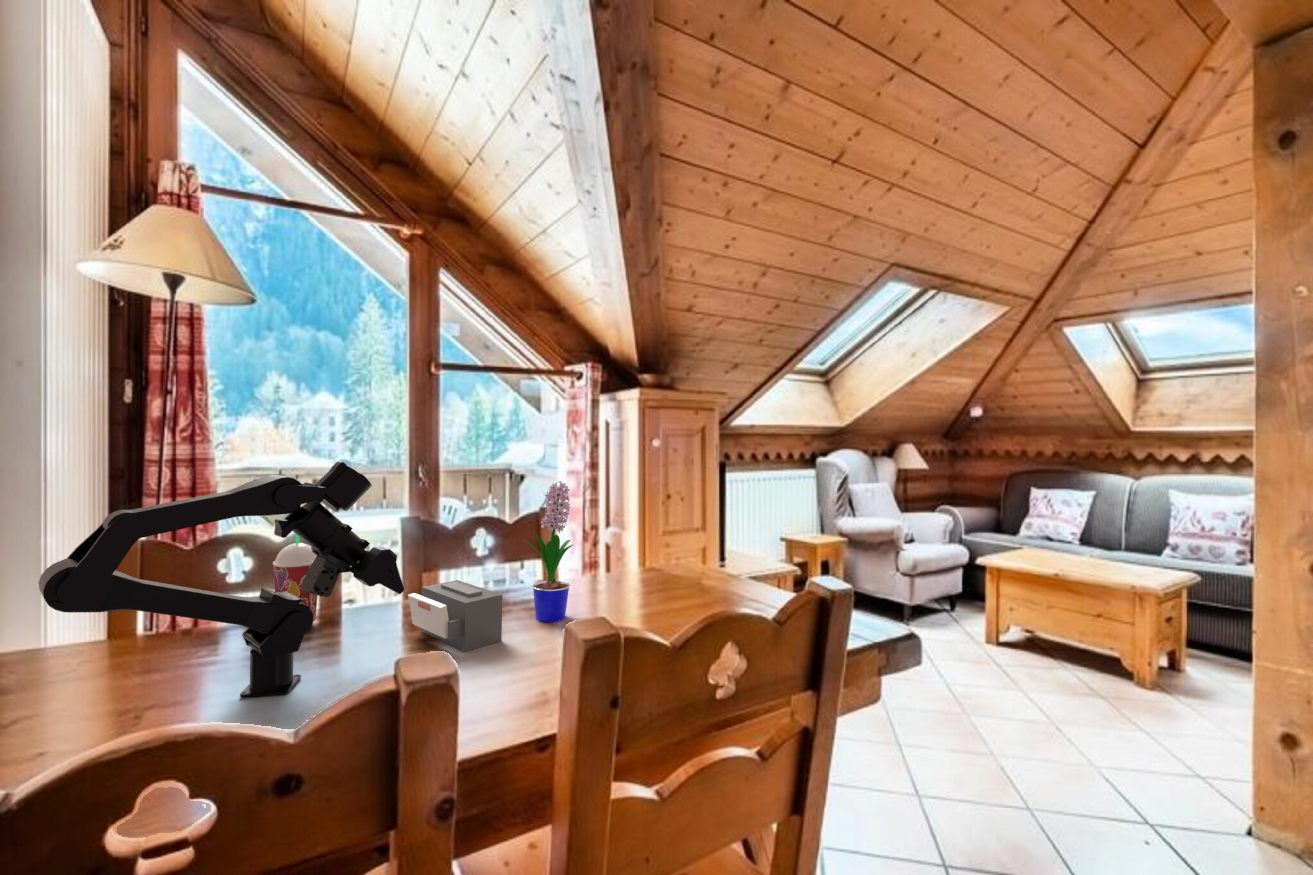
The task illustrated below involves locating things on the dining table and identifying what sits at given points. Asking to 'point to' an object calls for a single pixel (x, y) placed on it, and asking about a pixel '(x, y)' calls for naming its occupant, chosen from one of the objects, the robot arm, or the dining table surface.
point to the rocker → (429, 614)
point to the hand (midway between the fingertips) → (389, 586)
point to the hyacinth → (552, 558)
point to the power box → (468, 614)
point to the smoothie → (295, 572)
